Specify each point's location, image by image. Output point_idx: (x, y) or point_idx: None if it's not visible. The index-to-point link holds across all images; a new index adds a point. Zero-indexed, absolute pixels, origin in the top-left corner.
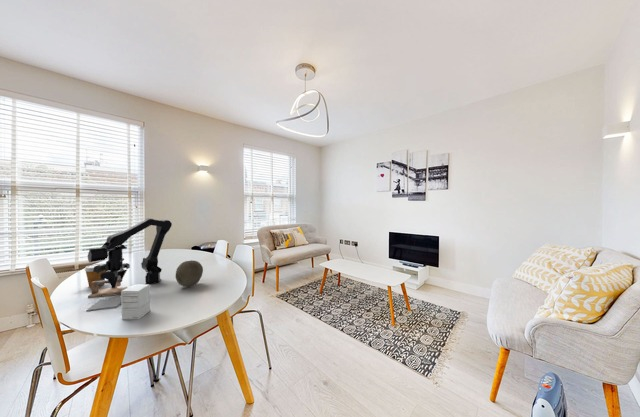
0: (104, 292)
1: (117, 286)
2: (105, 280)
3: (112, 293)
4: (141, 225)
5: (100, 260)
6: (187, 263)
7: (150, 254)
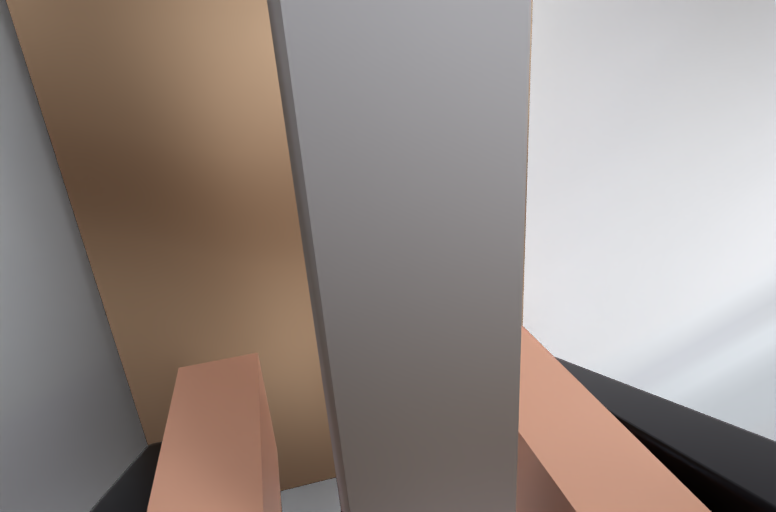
0: (227, 117)
1: None
2: (474, 160)
3: (128, 374)
4: None
5: None
6: None
7: None
